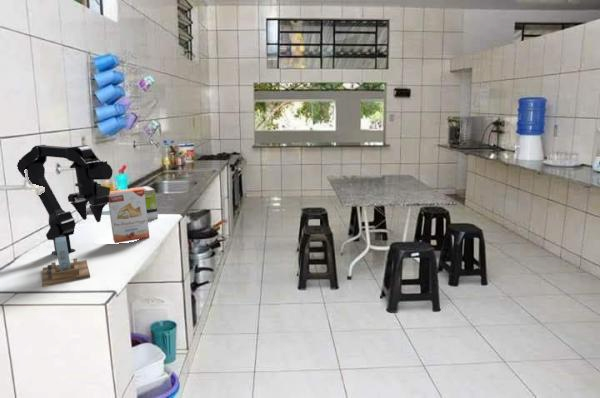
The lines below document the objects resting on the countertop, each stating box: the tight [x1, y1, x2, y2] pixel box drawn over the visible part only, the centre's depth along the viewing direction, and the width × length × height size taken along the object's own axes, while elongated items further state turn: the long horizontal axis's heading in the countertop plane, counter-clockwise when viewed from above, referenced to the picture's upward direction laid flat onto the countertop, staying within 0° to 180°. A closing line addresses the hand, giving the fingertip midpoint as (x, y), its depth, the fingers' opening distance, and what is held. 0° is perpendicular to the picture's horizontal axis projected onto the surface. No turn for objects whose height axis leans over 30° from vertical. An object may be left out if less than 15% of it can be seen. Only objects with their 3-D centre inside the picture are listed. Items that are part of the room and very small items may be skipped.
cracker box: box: [107, 187, 150, 244], centre depth 198 cm, size 14×6×21 cm, turn 118°
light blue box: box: [55, 236, 71, 271], centre depth 160 cm, size 8×3×11 cm, turn 27°
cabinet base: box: [41, 258, 91, 288], centre depth 162 cm, size 18×14×3 cm
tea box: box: [129, 185, 159, 221], centre depth 238 cm, size 15×10×15 cm, turn 30°
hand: (91, 220), depth 180 cm, fingers open, 9 cm apart
